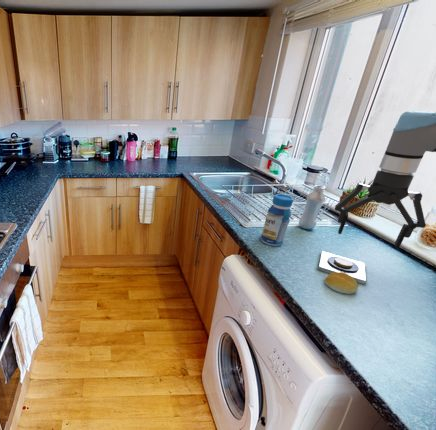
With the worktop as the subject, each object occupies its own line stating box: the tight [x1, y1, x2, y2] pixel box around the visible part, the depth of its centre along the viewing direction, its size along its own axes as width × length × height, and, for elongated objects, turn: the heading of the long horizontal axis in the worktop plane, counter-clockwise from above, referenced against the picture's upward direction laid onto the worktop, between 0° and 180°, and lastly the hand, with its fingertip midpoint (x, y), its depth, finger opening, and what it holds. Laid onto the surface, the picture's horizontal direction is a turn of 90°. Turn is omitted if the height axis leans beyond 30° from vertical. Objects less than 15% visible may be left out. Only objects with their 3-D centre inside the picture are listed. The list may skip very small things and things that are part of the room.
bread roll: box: [324, 272, 359, 295], centre depth 92 cm, size 8×9×4 cm
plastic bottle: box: [298, 184, 326, 230], centre depth 127 cm, size 6×7×20 cm
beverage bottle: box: [260, 193, 294, 247], centre depth 115 cm, size 8×8×20 cm
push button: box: [317, 250, 367, 285], centre depth 102 cm, size 13×13×3 cm
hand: (366, 238), depth 87 cm, fingers open, 13 cm apart
